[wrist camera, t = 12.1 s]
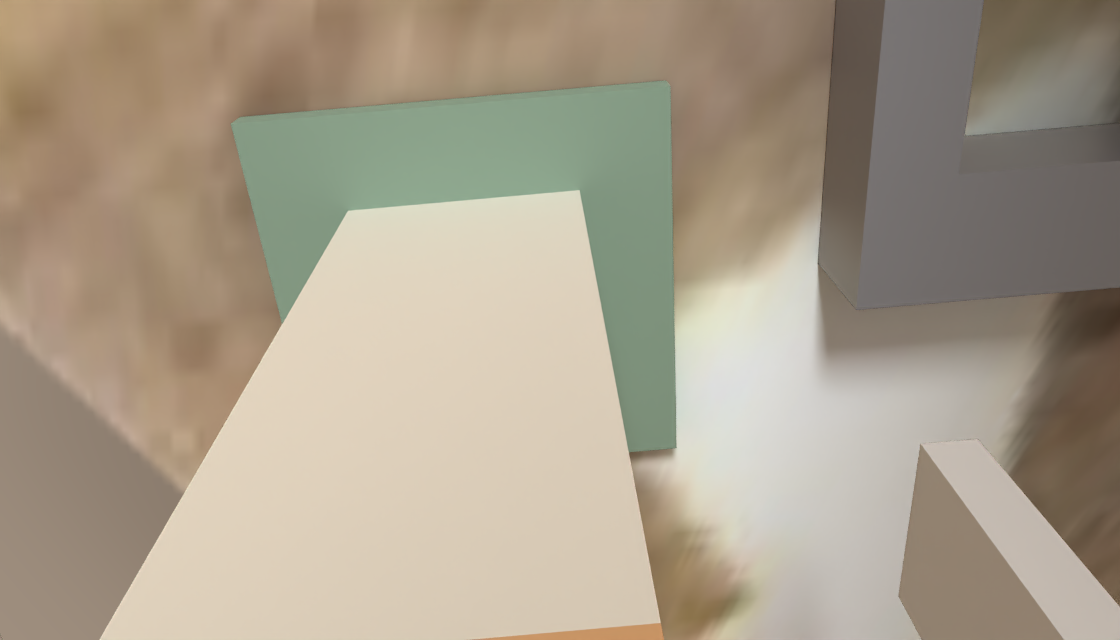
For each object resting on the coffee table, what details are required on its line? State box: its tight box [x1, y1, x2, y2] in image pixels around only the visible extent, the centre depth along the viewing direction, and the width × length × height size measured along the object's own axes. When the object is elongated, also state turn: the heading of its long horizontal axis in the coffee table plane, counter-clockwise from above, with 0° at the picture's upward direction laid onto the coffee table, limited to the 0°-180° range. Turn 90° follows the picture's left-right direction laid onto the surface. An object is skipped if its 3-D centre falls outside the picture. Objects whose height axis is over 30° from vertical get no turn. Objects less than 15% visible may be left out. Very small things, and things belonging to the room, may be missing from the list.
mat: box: [231, 81, 676, 452], centre depth 19 cm, size 9×9×1 cm
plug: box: [100, 190, 664, 640], centre depth 13 cm, size 5×5×13 cm
